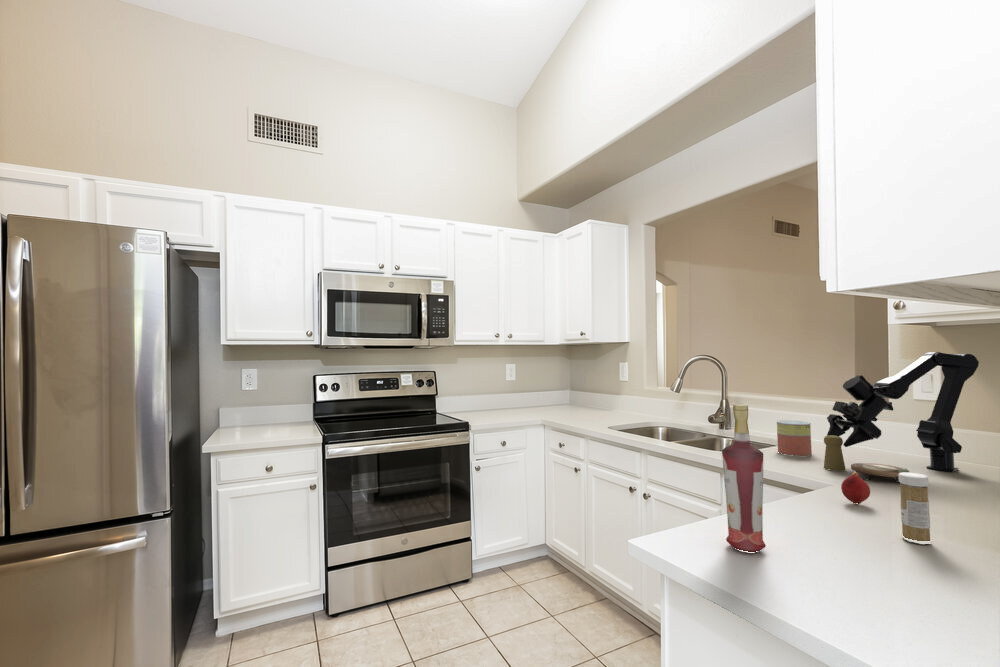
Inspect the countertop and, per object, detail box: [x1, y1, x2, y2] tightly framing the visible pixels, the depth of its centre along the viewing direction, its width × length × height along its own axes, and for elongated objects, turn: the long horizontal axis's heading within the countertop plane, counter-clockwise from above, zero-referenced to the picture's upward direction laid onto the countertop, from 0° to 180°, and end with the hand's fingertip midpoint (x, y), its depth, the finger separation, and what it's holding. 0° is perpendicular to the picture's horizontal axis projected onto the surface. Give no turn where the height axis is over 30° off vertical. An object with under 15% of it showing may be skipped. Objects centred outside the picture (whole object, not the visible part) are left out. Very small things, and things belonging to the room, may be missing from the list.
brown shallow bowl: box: [850, 462, 910, 483], centre depth 144 cm, size 14×14×4 cm
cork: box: [823, 435, 847, 472], centre depth 156 cm, size 6×6×11 cm
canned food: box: [776, 420, 813, 457], centre depth 181 cm, size 11×11×12 cm
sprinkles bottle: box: [898, 471, 931, 541], centre depth 95 cm, size 5×5×14 cm
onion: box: [840, 471, 871, 505], centre depth 119 cm, size 6×6×8 cm
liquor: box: [721, 404, 766, 552], centre depth 92 cm, size 7×7×28 cm
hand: (835, 443), depth 156 cm, fingers open, 9 cm apart
